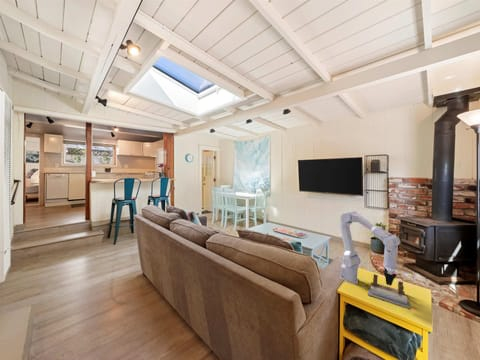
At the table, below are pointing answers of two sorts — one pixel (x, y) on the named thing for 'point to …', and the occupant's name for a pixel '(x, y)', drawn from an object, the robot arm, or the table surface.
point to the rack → (399, 291)
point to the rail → (389, 295)
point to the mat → (388, 299)
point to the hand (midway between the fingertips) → (388, 281)
